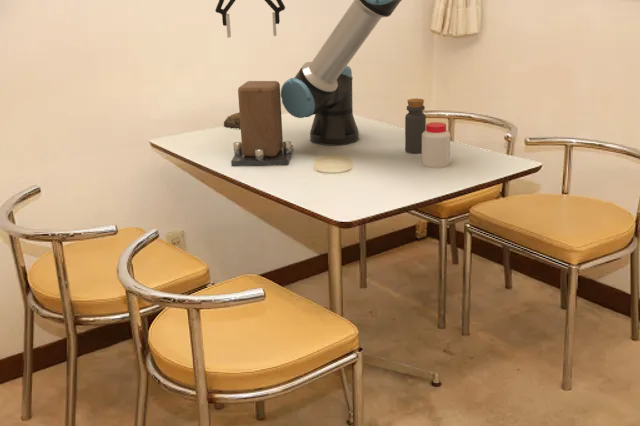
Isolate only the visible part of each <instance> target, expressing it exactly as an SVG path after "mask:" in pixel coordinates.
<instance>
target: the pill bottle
mask: <svg viewBox="0 0 640 426" xmlns="http://www.w3.org/2000/svg"><path fill="white" fill-rule="evenodd" d="M420 154H421V161H420V162H421V163H420V164H421V166H424V167H426V168H435V169H436V168H437V169H438V168H445V167H447V166H449V165H450V164H451V133H450V131H449V130H447V123H444V122H440V121H437V122H436V121H435V122H434V121H433V122H426V130H425V131H424V132H423V133H422V150H421V153H420Z"/></svg>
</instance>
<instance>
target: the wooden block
mask: <svg viewBox="0 0 640 426" xmlns="http://www.w3.org/2000/svg"><path fill="white" fill-rule="evenodd" d="M237 94H238V95H237V97H238V109H239V112H240V126H241V129H240V134H241V135H240V137H241V143H242V153H243V155H244V156H255V149H257V148H263V149H264V157H274V156H276V155H277V154H278V153H279V151H280V150H281V149H282V147H283V142H284V141H283V140H284V139H283V123H282V122H283V121H282V119H283V118H282V104H281V103H282V98H281V84H280V82H279V81H277V80H248V81H246V82H245V83H243V84H242V85H240V86H239V87H238V89H237ZM239 112H238V113H239Z"/></svg>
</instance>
